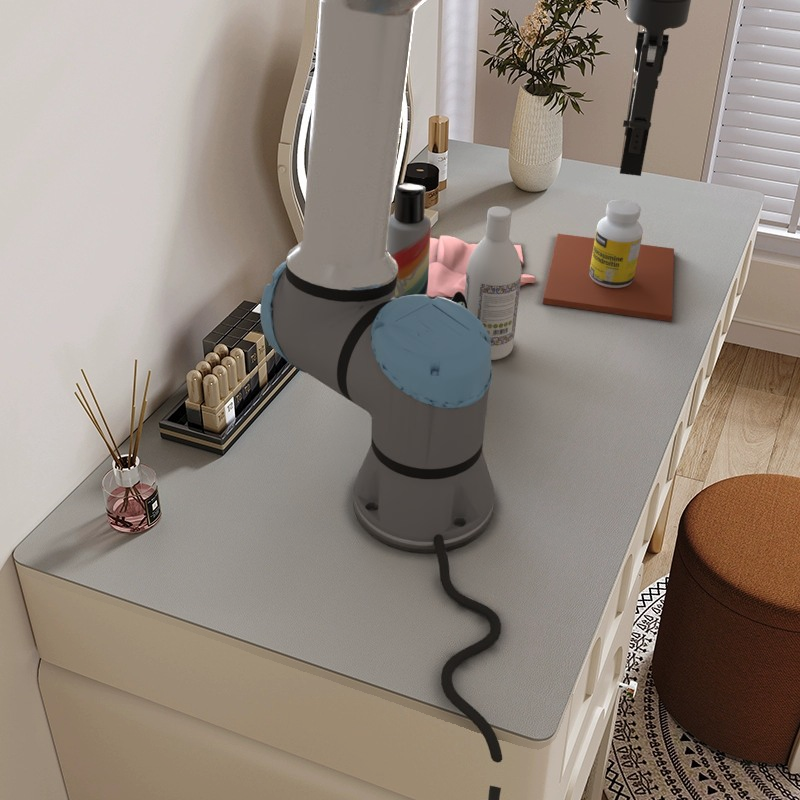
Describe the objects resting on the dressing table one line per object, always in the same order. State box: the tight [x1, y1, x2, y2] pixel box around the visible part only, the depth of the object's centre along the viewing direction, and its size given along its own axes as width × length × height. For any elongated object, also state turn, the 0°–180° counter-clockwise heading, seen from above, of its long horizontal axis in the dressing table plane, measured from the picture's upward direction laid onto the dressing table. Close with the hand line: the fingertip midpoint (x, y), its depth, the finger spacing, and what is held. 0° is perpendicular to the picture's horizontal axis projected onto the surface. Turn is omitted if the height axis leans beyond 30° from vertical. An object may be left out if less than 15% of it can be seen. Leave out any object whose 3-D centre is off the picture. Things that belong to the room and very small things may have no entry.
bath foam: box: [464, 205, 523, 361], centre depth 131 cm, size 7×7×20 cm
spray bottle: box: [386, 182, 432, 298], centre depth 136 cm, size 6×6×20 cm
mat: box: [542, 233, 675, 323], centre depth 152 cm, size 20×18×1 cm
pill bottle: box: [590, 199, 644, 288], centre depth 147 cm, size 6×6×12 cm
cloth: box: [427, 235, 536, 299], centre depth 153 cm, size 20×22×2 cm
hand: (632, 154), depth 139 cm, fingers open, 12 cm apart
